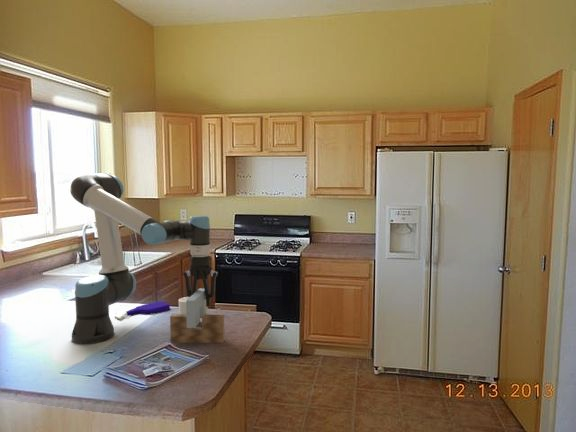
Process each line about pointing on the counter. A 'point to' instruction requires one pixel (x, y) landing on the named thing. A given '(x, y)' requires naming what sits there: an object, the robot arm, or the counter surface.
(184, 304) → the mug
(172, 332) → the walnut board
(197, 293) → the grey flat rectangular block
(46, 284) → the counter surface
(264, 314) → the counter surface
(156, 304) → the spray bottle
